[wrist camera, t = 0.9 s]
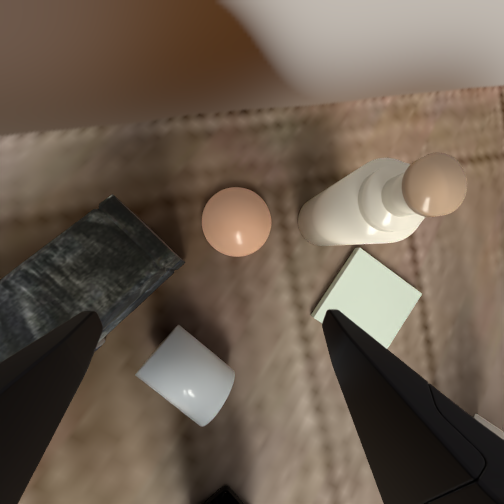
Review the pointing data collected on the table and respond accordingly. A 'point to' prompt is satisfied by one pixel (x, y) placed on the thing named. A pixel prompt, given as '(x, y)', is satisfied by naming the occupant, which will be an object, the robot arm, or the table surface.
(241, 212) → the tan disc
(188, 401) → the white rounded cylinder
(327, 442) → the table surface
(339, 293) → the pad
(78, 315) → the robot arm
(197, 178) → the table surface
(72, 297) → the toy
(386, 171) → the stoneware bottle
